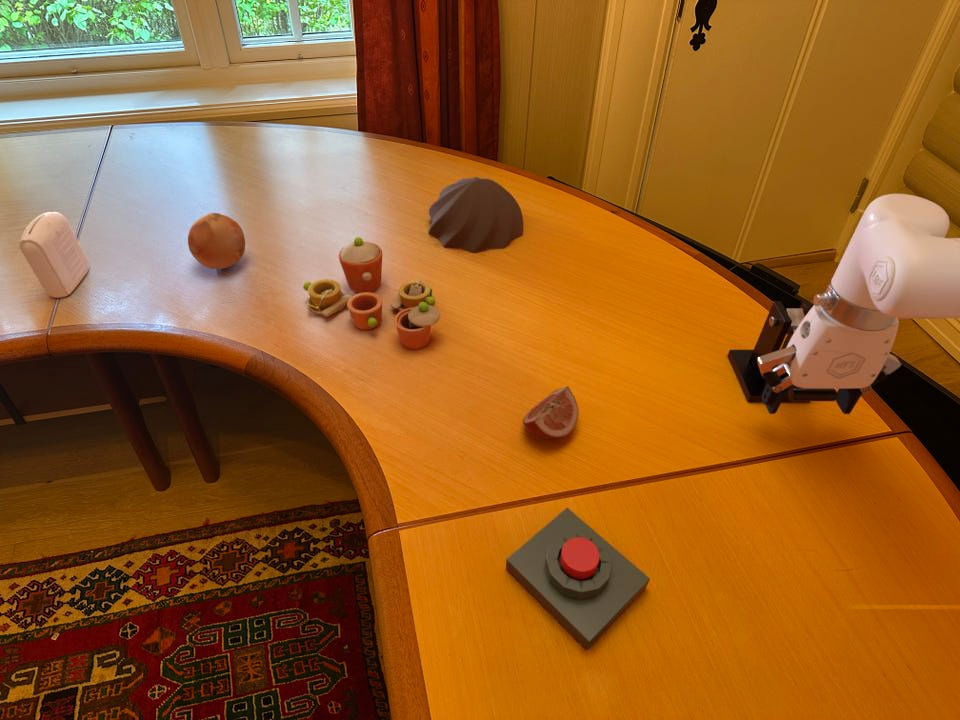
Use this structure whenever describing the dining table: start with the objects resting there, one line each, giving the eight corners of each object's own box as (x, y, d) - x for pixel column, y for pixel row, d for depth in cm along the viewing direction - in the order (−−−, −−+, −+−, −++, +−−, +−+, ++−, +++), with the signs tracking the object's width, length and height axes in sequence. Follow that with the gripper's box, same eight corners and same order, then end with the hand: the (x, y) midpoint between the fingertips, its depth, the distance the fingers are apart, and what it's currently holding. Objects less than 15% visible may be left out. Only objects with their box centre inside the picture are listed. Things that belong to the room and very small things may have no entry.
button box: (646, 588, 67) (653, 570, 64) (586, 650, 62) (591, 634, 59) (565, 517, 73) (568, 498, 70) (505, 569, 68) (506, 550, 66)
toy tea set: (293, 308, 103) (281, 261, 96) (353, 265, 113) (345, 218, 106) (418, 364, 93) (414, 314, 86) (472, 310, 103) (471, 262, 96)
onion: (210, 248, 117) (193, 201, 110) (259, 251, 116) (246, 204, 109) (187, 277, 110) (167, 228, 103) (240, 280, 109) (224, 232, 102)
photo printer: (71, 265, 112) (37, 205, 104) (94, 265, 112) (63, 204, 104) (45, 299, 105) (7, 237, 96) (70, 298, 105) (35, 236, 96)
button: (605, 563, 65) (607, 555, 64) (580, 587, 63) (582, 579, 62) (577, 538, 67) (578, 530, 66) (552, 560, 65) (553, 552, 64)
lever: (830, 404, 79) (840, 397, 77) (788, 404, 79) (797, 397, 77) (806, 317, 85) (814, 308, 83) (767, 317, 85) (774, 308, 83)
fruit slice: (547, 399, 87) (550, 375, 84) (586, 422, 84) (591, 397, 81) (512, 434, 83) (513, 409, 79) (553, 459, 80) (556, 434, 76)
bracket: (810, 402, 87) (847, 335, 78) (747, 402, 87) (777, 335, 78) (784, 355, 94) (815, 289, 86) (727, 355, 94) (752, 289, 86)
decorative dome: (505, 261, 114) (506, 213, 107) (410, 239, 119) (406, 193, 112) (536, 213, 127) (540, 168, 120) (450, 196, 132) (449, 151, 125)
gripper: (796, 324, 66) (748, 427, 78) (955, 325, 66) (883, 428, 78) (772, 284, 71) (731, 385, 83) (918, 284, 71) (856, 386, 83)
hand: (804, 406), depth 80 cm, fingers open, 9 cm apart
